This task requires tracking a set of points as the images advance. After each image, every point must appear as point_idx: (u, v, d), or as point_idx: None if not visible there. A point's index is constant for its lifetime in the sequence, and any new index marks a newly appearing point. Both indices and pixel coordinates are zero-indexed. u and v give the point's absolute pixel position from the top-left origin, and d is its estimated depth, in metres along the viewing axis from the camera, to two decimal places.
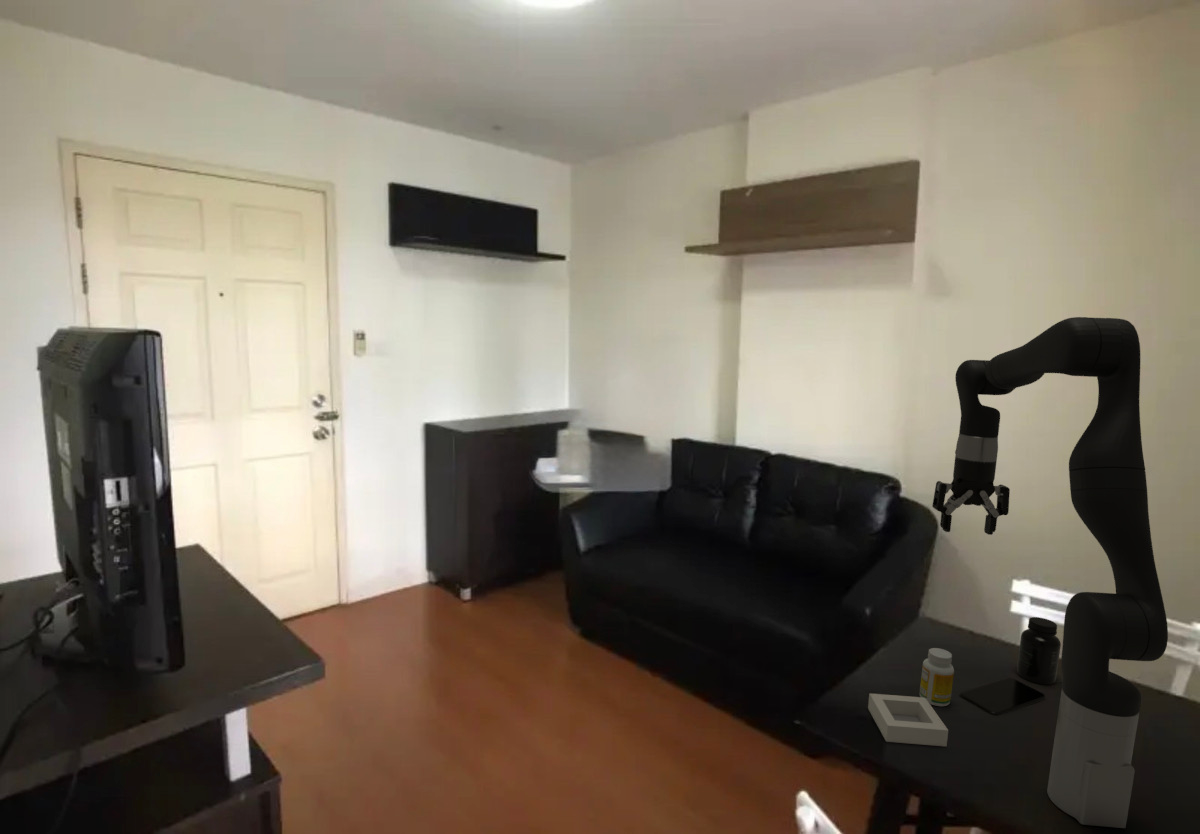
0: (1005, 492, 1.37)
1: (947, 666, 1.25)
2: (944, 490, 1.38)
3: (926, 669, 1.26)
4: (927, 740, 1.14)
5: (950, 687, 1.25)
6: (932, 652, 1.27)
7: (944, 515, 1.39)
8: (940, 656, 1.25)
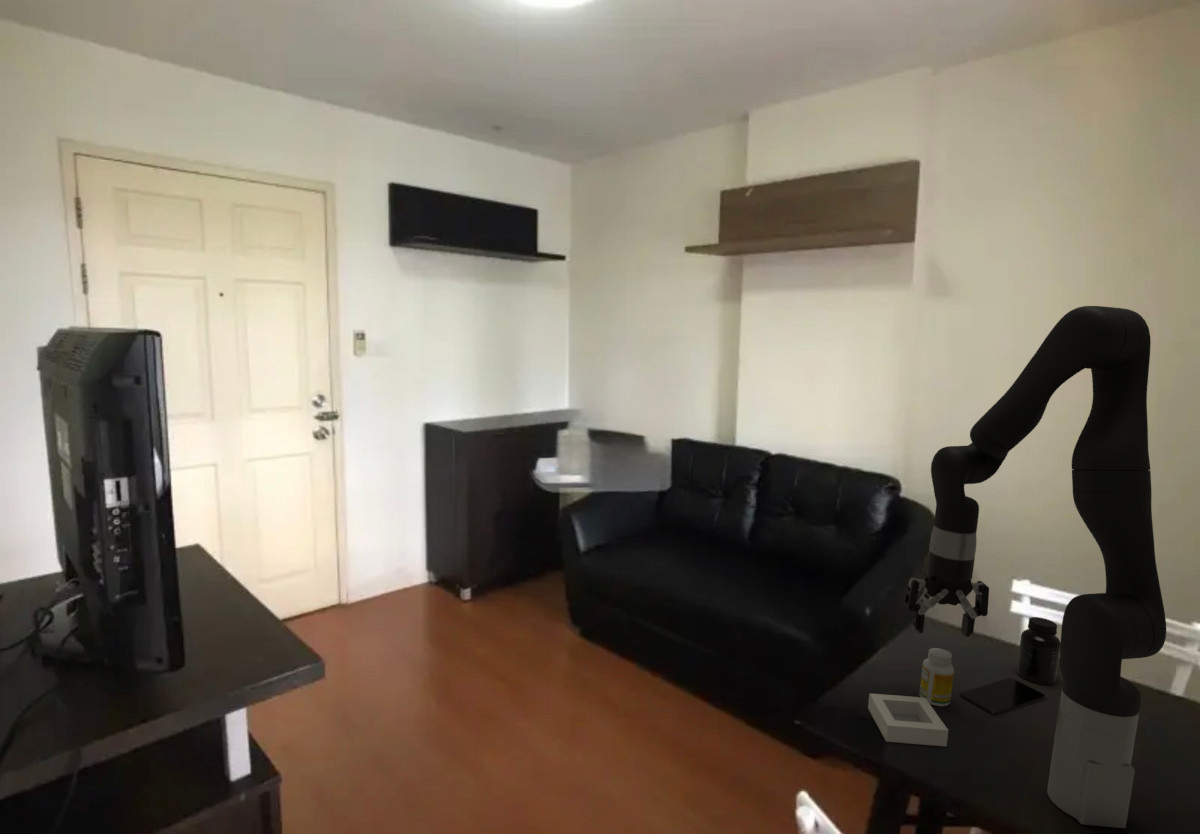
0: (984, 591, 1.23)
1: (947, 666, 1.25)
2: (916, 588, 1.24)
3: (926, 669, 1.26)
4: (927, 740, 1.14)
5: (950, 687, 1.25)
6: (932, 652, 1.27)
7: (916, 614, 1.26)
8: (940, 656, 1.25)
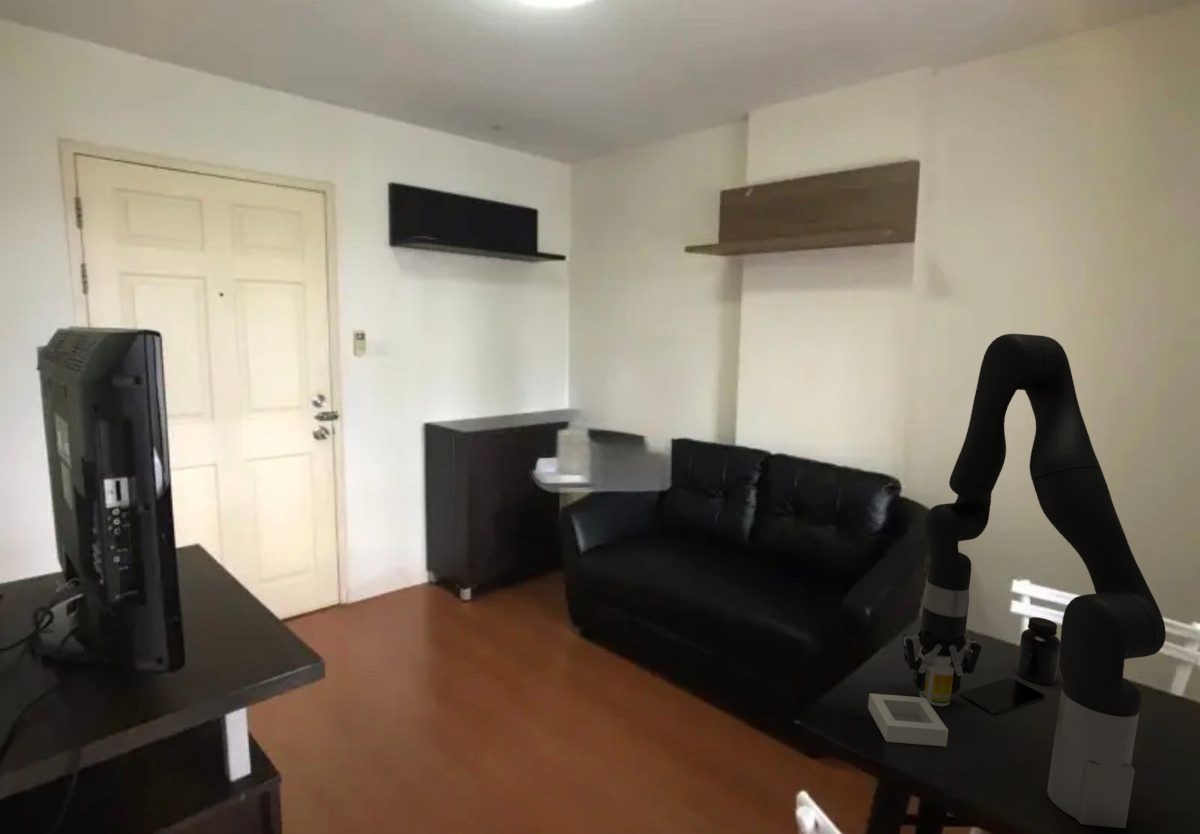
0: (976, 650, 1.25)
1: (947, 666, 1.25)
2: (911, 646, 1.26)
3: (926, 669, 1.26)
4: (927, 740, 1.14)
5: (950, 687, 1.25)
6: None
7: (917, 672, 1.27)
8: (940, 656, 1.25)
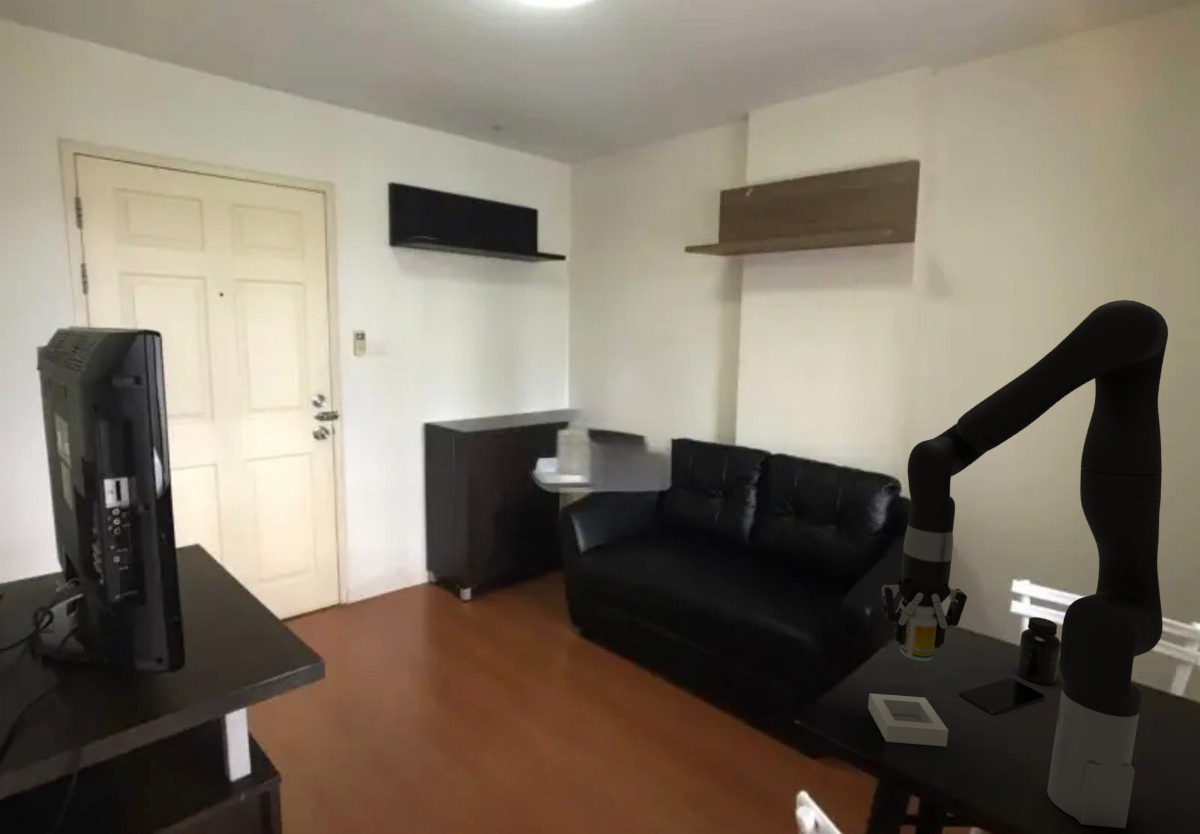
0: (961, 599, 1.14)
1: (929, 617, 1.15)
2: (890, 596, 1.16)
3: (907, 621, 1.16)
4: (927, 740, 1.14)
5: (933, 640, 1.15)
6: None
7: (897, 625, 1.17)
8: (921, 606, 1.15)
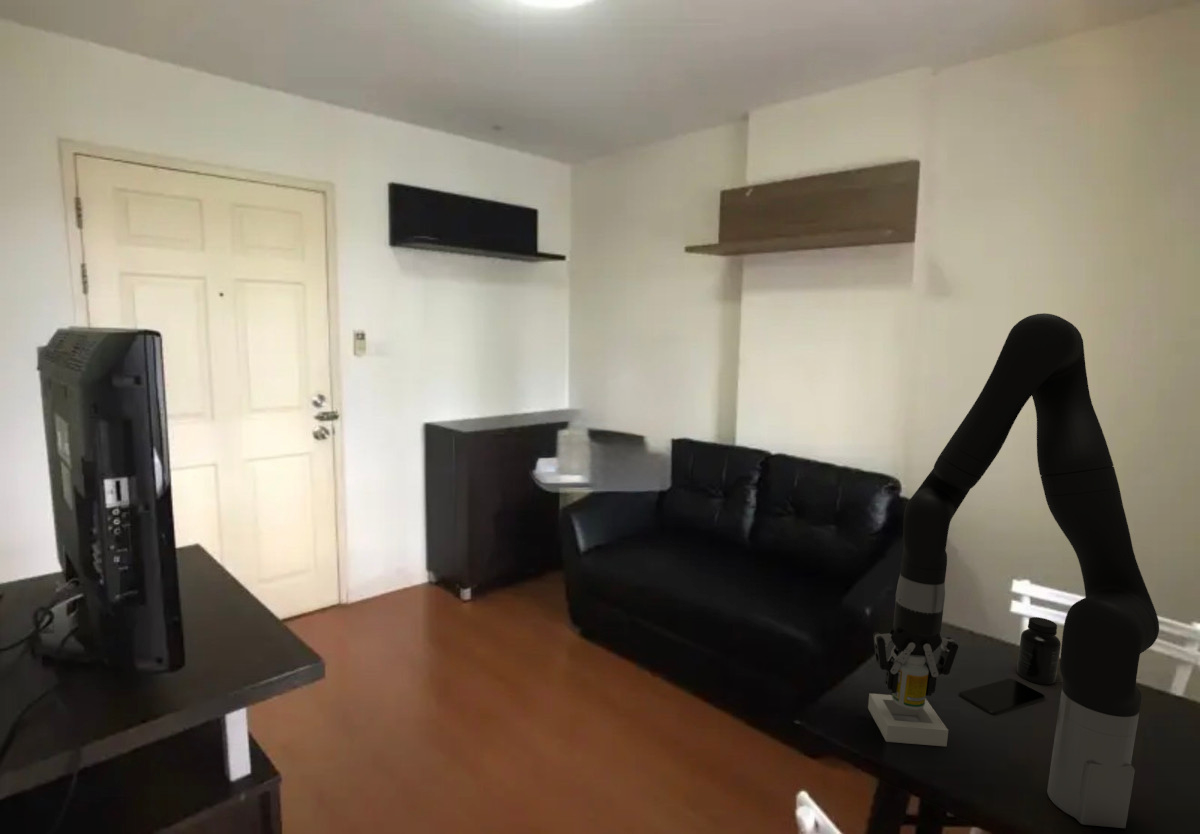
0: (952, 649, 1.15)
1: (921, 666, 1.16)
2: (883, 645, 1.16)
3: (899, 670, 1.17)
4: (927, 740, 1.14)
5: (924, 689, 1.16)
6: None
7: (889, 673, 1.17)
8: (913, 655, 1.16)
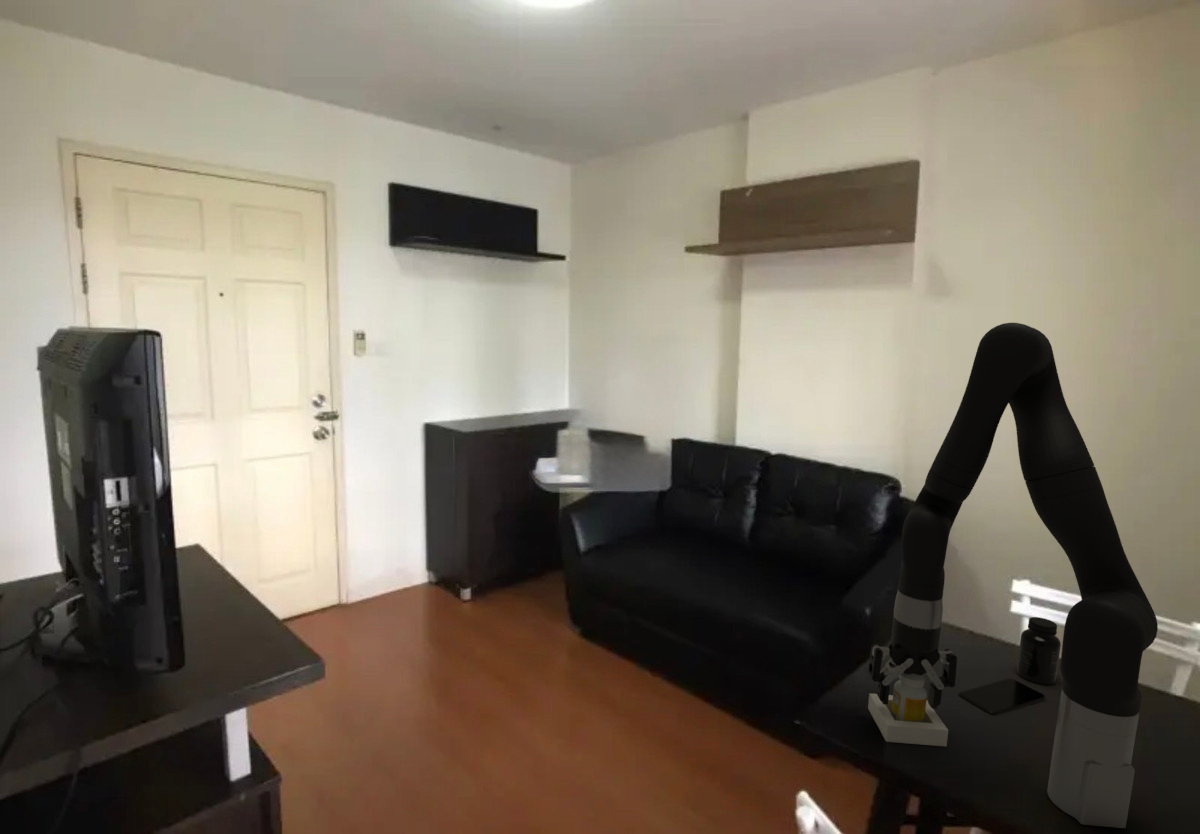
0: (951, 661, 1.15)
1: (919, 689, 1.16)
2: (880, 657, 1.16)
3: (897, 693, 1.17)
4: (927, 740, 1.14)
5: (923, 712, 1.16)
6: (903, 674, 1.18)
7: (881, 685, 1.18)
8: (912, 679, 1.16)
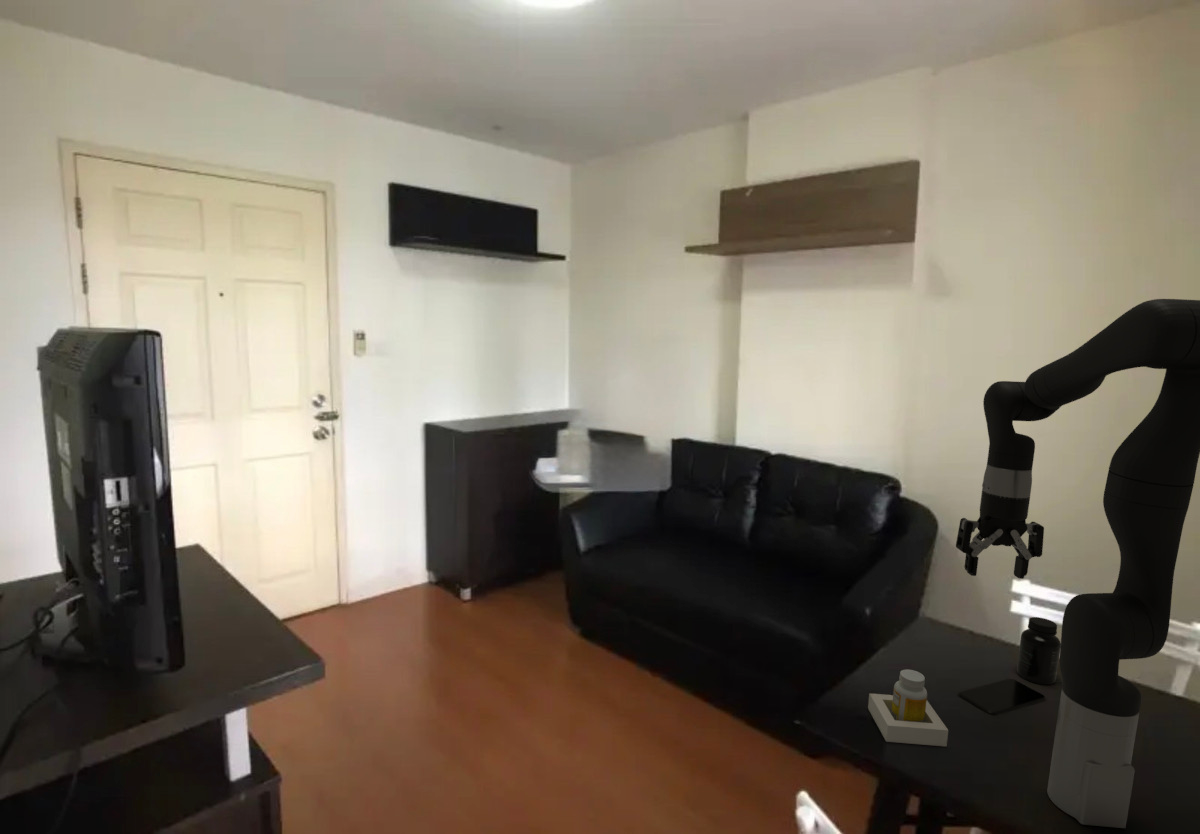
0: (1039, 531, 1.21)
1: (919, 690, 1.16)
2: (970, 529, 1.21)
3: (897, 693, 1.17)
4: (927, 740, 1.14)
5: (923, 712, 1.16)
6: (904, 674, 1.18)
7: (969, 557, 1.23)
8: (912, 679, 1.16)
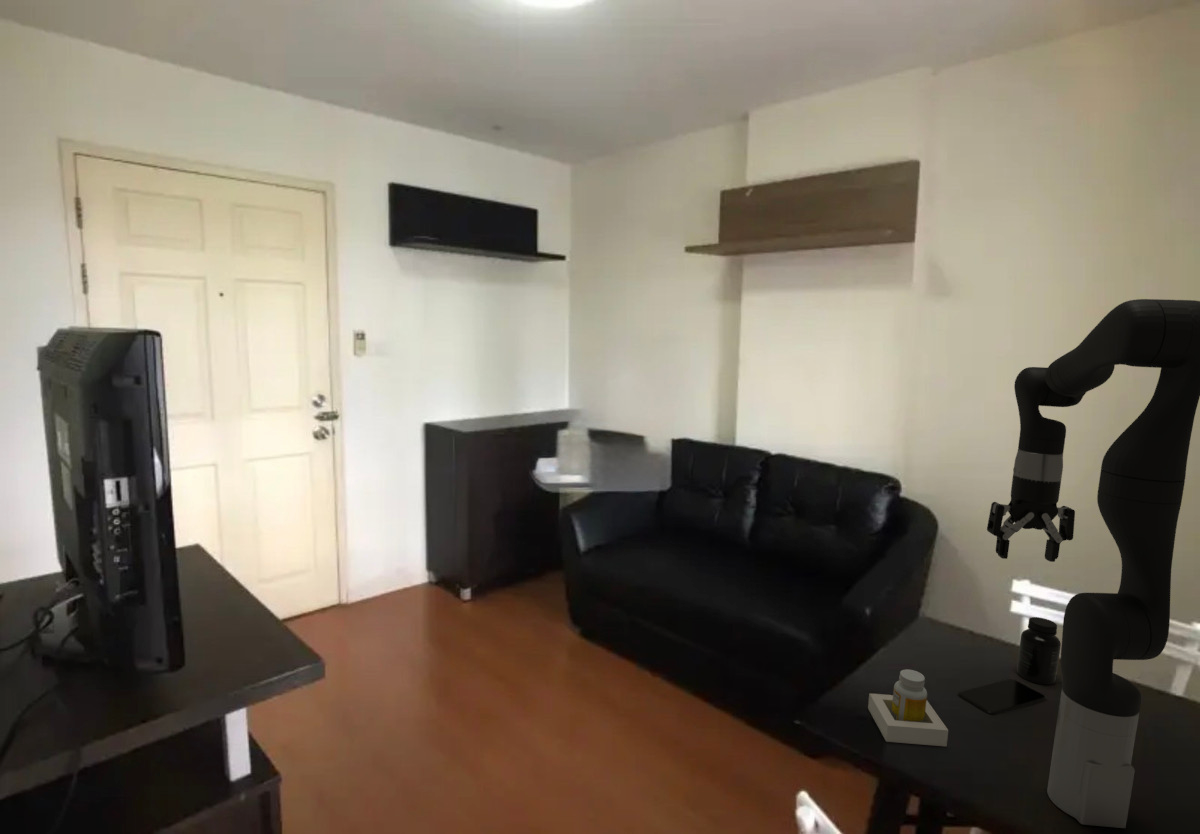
0: (1070, 515, 1.23)
1: (919, 690, 1.16)
2: (1001, 512, 1.24)
3: (897, 693, 1.17)
4: (927, 740, 1.14)
5: (923, 712, 1.16)
6: (903, 674, 1.18)
7: (1001, 540, 1.25)
8: (912, 679, 1.16)
